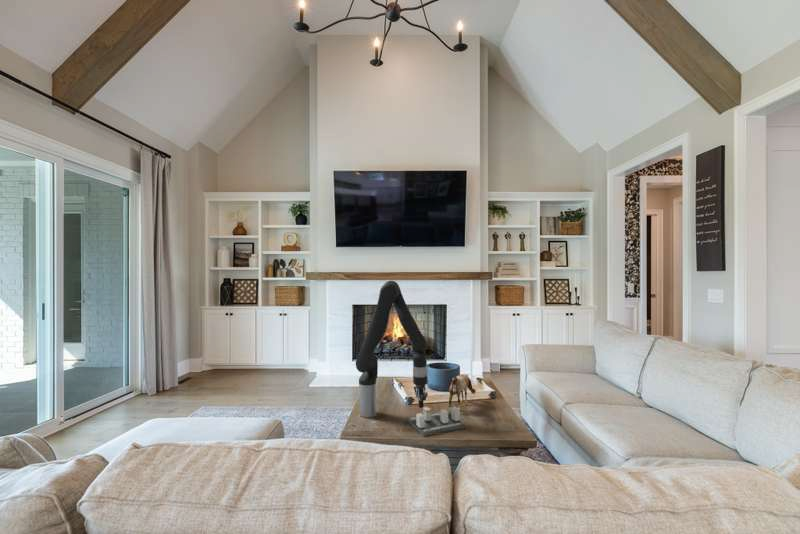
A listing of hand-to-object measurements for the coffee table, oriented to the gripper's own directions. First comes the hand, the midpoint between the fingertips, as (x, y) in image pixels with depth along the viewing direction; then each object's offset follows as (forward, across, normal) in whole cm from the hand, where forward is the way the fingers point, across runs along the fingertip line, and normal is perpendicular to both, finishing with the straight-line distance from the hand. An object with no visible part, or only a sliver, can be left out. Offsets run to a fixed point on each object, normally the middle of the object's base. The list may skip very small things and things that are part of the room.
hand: (421, 407), depth 212 cm
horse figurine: (+7, -4, +28) cm, 29 cm away
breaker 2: (+4, +7, 0) cm, 8 cm away
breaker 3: (+4, +13, +7) cm, 15 cm away
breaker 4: (+4, +13, +13) cm, 19 cm away
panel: (+6, +10, +3) cm, 12 cm away
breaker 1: (+4, +13, -6) cm, 15 cm away
